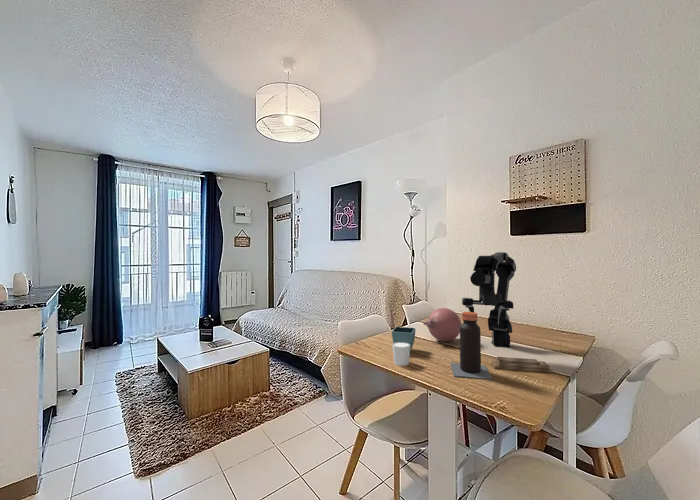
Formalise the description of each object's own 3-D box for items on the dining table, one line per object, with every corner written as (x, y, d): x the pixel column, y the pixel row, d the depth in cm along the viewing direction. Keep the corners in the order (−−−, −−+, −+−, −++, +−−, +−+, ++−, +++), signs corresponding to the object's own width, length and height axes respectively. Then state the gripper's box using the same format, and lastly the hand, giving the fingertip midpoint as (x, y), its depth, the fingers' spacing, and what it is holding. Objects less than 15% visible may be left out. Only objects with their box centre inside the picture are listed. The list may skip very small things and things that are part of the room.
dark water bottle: (484, 373, 102) (484, 314, 103) (466, 374, 101) (465, 315, 102) (474, 365, 109) (473, 310, 109) (456, 366, 108) (456, 311, 108)
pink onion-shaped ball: (413, 339, 144) (412, 307, 144) (446, 334, 152) (445, 304, 152) (433, 348, 130) (433, 313, 130) (468, 343, 138) (468, 309, 138)
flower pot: (391, 352, 126) (391, 331, 126) (396, 346, 134) (396, 326, 134) (412, 354, 122) (412, 333, 123) (416, 348, 131) (415, 328, 131)
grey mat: (453, 376, 101) (453, 375, 101) (450, 363, 112) (450, 362, 112) (492, 379, 98) (492, 378, 98) (484, 366, 109) (484, 365, 109)
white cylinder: (411, 360, 116) (411, 342, 116) (409, 367, 109) (409, 348, 109) (394, 359, 118) (394, 341, 118) (390, 365, 112) (390, 346, 112)
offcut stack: (494, 368, 107) (494, 360, 107) (491, 363, 112) (491, 355, 112) (551, 372, 103) (551, 364, 103) (545, 367, 108) (545, 359, 108)
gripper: (464, 285, 118) (463, 325, 117) (517, 288, 113) (517, 330, 112) (462, 284, 128) (461, 321, 127) (510, 286, 123) (509, 325, 122)
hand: (486, 324), depth 122 cm, fingers open, 9 cm apart
